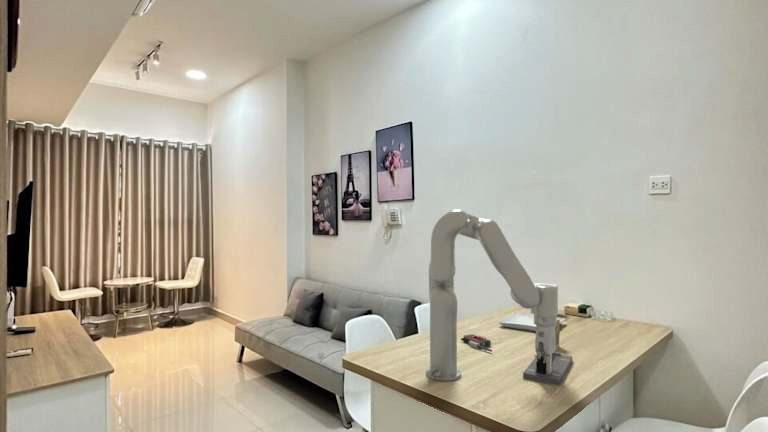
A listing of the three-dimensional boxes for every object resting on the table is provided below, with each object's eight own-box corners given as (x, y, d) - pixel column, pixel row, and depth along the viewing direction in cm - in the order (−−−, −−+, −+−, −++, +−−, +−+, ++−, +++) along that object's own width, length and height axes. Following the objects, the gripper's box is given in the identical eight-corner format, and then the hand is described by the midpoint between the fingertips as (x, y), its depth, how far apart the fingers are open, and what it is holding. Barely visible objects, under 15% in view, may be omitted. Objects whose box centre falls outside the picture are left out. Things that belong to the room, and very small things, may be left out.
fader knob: (550, 374, 141) (550, 356, 141) (535, 371, 144) (534, 354, 144) (551, 371, 143) (551, 354, 143) (536, 368, 146) (536, 351, 146)
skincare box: (541, 346, 180) (541, 318, 180) (545, 343, 184) (545, 316, 184) (556, 349, 176) (556, 320, 176) (560, 346, 179) (559, 318, 179)
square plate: (515, 317, 234) (515, 311, 234) (566, 325, 218) (566, 317, 218) (498, 328, 212) (498, 320, 212) (553, 336, 196) (553, 328, 196)
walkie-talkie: (457, 342, 186) (490, 354, 169) (457, 333, 186) (490, 344, 169) (471, 339, 191) (504, 351, 174) (471, 330, 191) (504, 341, 174)
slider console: (559, 386, 137) (559, 377, 137) (523, 378, 143) (523, 369, 143) (572, 361, 160) (572, 353, 160) (540, 356, 167) (540, 348, 167)
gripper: (550, 327, 135) (549, 380, 135) (561, 317, 149) (561, 365, 149) (527, 323, 139) (526, 374, 139) (540, 314, 154) (539, 360, 153)
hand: (544, 369), depth 144 cm, fingers open, 8 cm apart
